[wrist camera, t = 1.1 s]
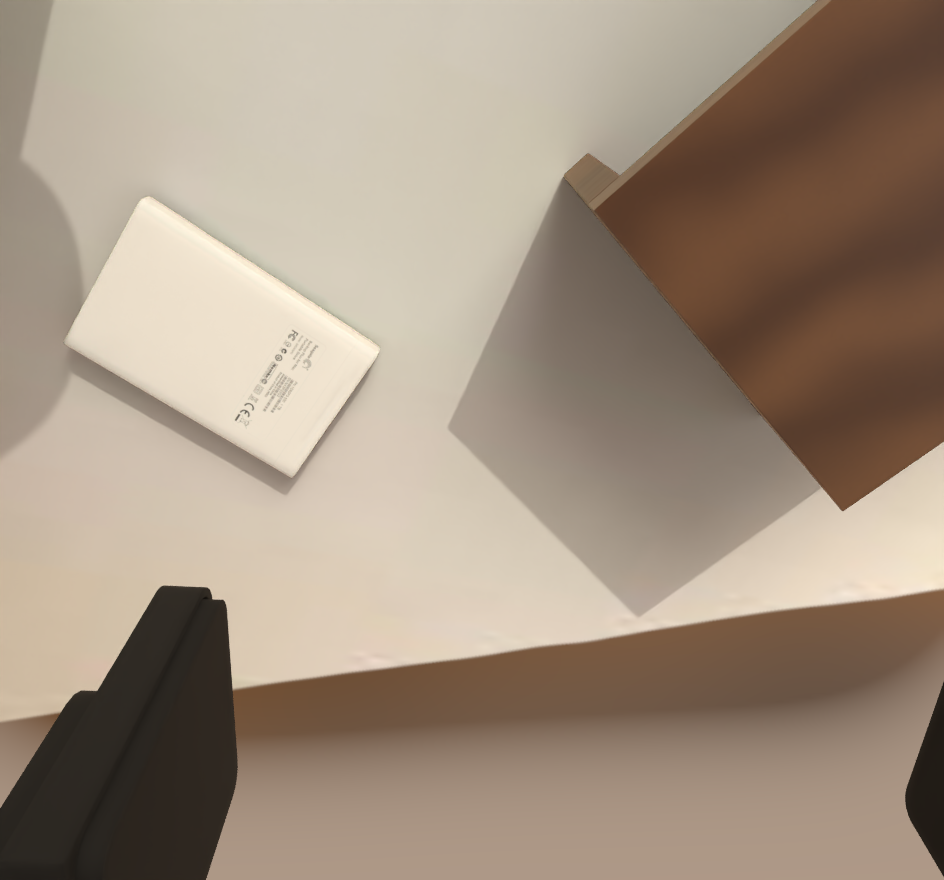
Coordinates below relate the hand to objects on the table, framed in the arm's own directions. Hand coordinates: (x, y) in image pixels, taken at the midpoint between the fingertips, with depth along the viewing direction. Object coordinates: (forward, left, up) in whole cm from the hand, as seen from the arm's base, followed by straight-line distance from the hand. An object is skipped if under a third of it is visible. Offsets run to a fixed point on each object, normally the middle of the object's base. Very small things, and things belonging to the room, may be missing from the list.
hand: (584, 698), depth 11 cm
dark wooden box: (+8, +14, -31) cm, 35 cm away
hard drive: (-5, -13, -31) cm, 34 cm away
